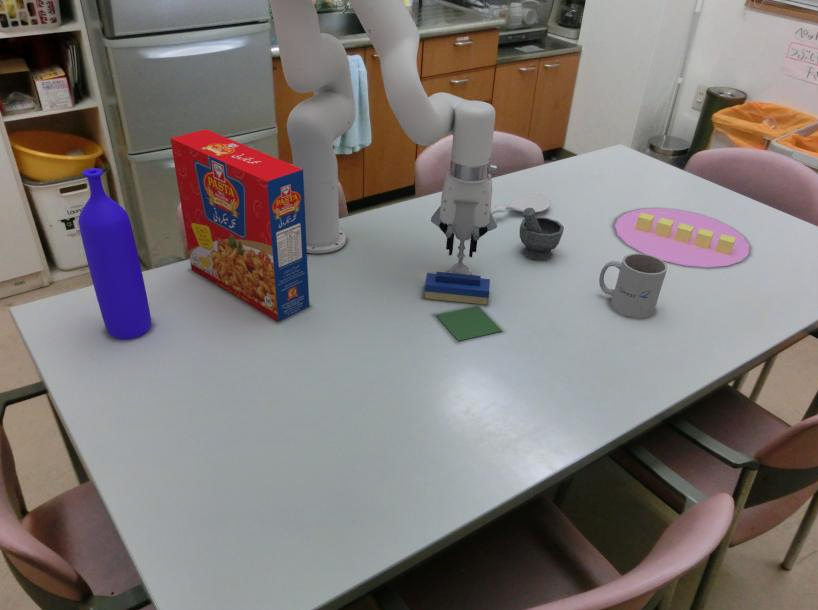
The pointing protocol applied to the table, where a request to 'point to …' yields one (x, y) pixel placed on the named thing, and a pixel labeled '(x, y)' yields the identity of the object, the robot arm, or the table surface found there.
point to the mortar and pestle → (539, 234)
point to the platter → (682, 237)
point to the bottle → (113, 262)
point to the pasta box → (244, 221)
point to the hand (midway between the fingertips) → (460, 252)
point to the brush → (457, 287)
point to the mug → (636, 284)
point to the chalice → (463, 233)
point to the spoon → (526, 204)
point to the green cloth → (468, 323)
